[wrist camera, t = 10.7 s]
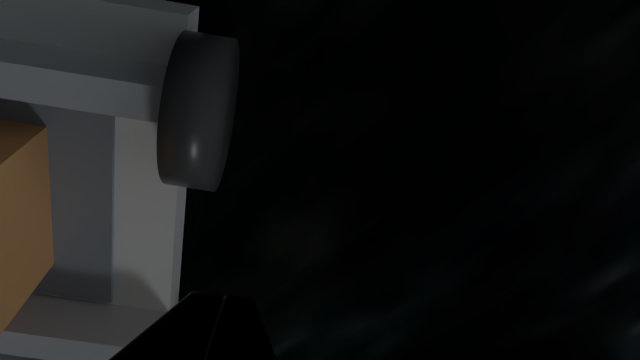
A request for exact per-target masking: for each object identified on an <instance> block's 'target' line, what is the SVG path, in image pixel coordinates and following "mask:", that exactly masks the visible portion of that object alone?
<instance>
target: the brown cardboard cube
mask: <svg viewBox="0 0 640 360" xmlns="http://www.w3.org/2000/svg"><path fill="white" fill-rule="evenodd" d="M53 264H54V255H53V236H52V217H51V198H50V179H49V160H48V140H47V127H45V126H38V125H32V124H25V123H19V122H12V121H5V120H0V335H1V333H2V332H3V331H4V329H5V328H6V327H7V325H8V324H9V323H10V321H11V320H12V319H13V317H14V316H15V315H16V313H17V312H18V311H19V309H20V308H21V307H22V305H23V304H24V303H25V301H26V300H27V299H28V297H29V296H30V295H31V293H32V292H33V291H34V289H35V288H36V287H37V285H38V284H39V283H40V281H41V280H42V279H43V277H44V276H45V275H46V273H47V272H48V271H49V269H50V268H51V267H52V265H53Z"/></svg>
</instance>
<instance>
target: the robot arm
mask: <svg viewBox="0 0 640 360" xmlns="http://www.w3.org/2000/svg"><path fill="white" fill-rule="evenodd" d="M109 360H277V359H276V356H275V354H274V351H273V348H272V345H271V343H270V340H269V337H268V335H267V332H266V329H265V326H264V324H263V321H262V318H261V316H260V313H259V310H258V307H257V305H256V302H255V301H254V299H252V298H249V297H241V296H232V295H227V296H225V297H224V298H223V299H222V296H221V295H220V294H215V293H207V292H199V291H194V292H191V293H189V294H188V295H187V296H186V297H184V298H183V299H182V300H181V301H180V302H178V303H177V304H176V305H175V306H173V307H172V308H171V309H170V310H169V311H167V312H166V313H165V314H164V315H162V316H161V317H160V318H159V319H158V320H156V321H155V322H154V323H153V324H151V325H150V326H149V327H148V328H147V329H145V330H144V331H143V332H142V333H141V334H139V335H138V336H137V337H136V338H134V339H133V340H132V341H131V342H130V343H128V344H127V345H126V346H125V347H123V348H122V349H121V350H120V351H119V352H117V353H116V354H115V355H114V356H112V357H111V358H110V359H109Z"/></svg>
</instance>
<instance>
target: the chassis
mask: <svg viewBox="0 0 640 360" xmlns="http://www.w3.org/2000/svg"><path fill="white" fill-rule="evenodd" d="M198 18H199V6H195V5H189V4H183V3H177V2H171V1H165V0H0V120H5V121H12V122H19V123H25V124H32V125H38V126H45V127H47V140H48V160H49V179H50V198H51V217H52V236H53V255H54V264H53V265H52V267H51V268H50V269H49V271H48V272H47V273H46V275H45V276H44V277H43V279H42V280H41V281H40V283H39V284H38V285H37V287H36V288H35V289H34V291H33V292H32V293H31V295H30V296H29V297H28V299H27V300H26V301H25V303H24V304H23V305H22V307H21V308H20V309H19V311H18V312H17V313H16V315H15V316H14V317H13V319H12V320H11V321H10V323H9V324H8V325H7V327H6V328H5V329H4V331H3V332H2V333H1V335H0V360H109V359H110V358H111V357H112V356H114V355H115V354H116V353H117V352H119V351H120V350H121V349H122V348H123V347H125V346H126V345H127V344H128V343H130V342H131V341H132V340H133V339H134V338H136V337H137V336H138V335H139V334H141V333H142V332H143V331H144V330H145V329H147V328H148V327H149V326H150V325H151V324H153V323H154V322H155V321H156V320H158V319H159V318H160V317H161V316H162V315H164V314H165V313H166V312H167V311H169V310H170V309H171V308H172V307H173V306H175V305H176V304H177V303H178V299H179V285H180V271H181V257H182V243H183V229H184V215H185V201H186V187H187V188H194V189H200V190H207V191H213V192H214V191H216V189H217V188H218V186H219V183H220V180H221V177H222V174H223V171H224V167H225V163H226V158H227V154H228V149H229V144H230V139H231V133H232V127H233V121H234V114H235V107H236V99H237V89H238V78H239V43H238V40H237V39H236V38H231V37H225V36H219V35H213V34H207V33H201V32H198Z"/></svg>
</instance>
